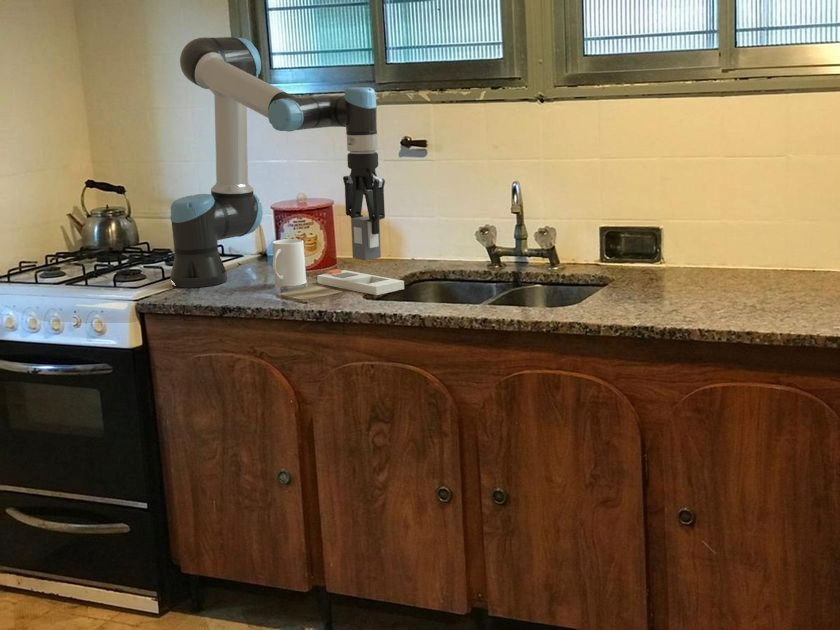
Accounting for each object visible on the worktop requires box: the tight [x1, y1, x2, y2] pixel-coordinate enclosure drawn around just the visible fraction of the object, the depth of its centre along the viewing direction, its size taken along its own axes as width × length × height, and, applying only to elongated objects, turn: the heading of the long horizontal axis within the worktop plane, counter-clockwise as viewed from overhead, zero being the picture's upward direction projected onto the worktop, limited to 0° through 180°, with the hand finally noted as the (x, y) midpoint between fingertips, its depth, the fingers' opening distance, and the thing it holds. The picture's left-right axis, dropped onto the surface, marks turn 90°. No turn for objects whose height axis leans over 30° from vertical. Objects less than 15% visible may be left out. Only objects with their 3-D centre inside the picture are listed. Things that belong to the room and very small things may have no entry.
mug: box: [272, 238, 308, 289], centre depth 269 cm, size 12×8×12 cm
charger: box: [350, 215, 382, 261], centre depth 258 cm, size 5×5×10 cm
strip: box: [315, 268, 405, 296], centre depth 266 cm, size 30×9×4 cm, turn 42°
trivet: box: [275, 285, 344, 305], centre depth 258 cm, size 12×12×1 cm
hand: (366, 245), depth 259 cm, fingers closed on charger, 5 cm apart
